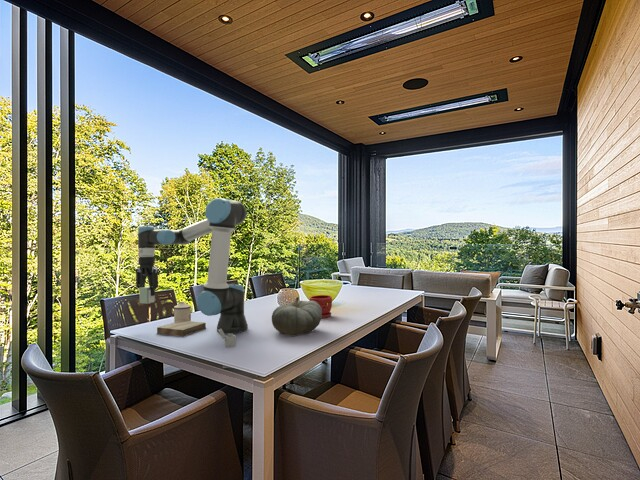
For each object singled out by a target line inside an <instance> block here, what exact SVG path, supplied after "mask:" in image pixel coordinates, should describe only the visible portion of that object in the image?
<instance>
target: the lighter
mask: <svg viewBox="0 0 640 480" xmlns="http://www.w3.org/2000/svg"><path fill="white" fill-rule="evenodd" d="M218 331H219V332H218V333H219V335H220V337H221V338H222V339H223V340H224V346H225V348H226V349H227V348H232V347H236V346H237V345H236V344H237V343H236V341H237V337H236V335H235V333H227V335H226V333H224V332H223V330H222V329H221V328H220V329H219V330H218Z"/></svg>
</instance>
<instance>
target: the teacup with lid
mask: <svg viewBox="0 0 640 480" xmlns="http://www.w3.org/2000/svg"><path fill="white" fill-rule="evenodd" d="M173 310H174V311H173V315H174V316H173V323H174V322H178V321H192V313H191V312H192V311H191V310H192V305H190V304H189V303H186V302H185V301H184V300H183V301H180V303H178V304H177V305H174V307H173Z"/></svg>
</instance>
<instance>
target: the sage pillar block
mask: <svg viewBox="0 0 640 480" xmlns="http://www.w3.org/2000/svg"><path fill="white" fill-rule="evenodd" d="M152 287H153V286H152ZM149 289H150V287H149V285H148V286H146V285H145V287H139V288H138V290H139V291H138V292H139V294H138V295H139V297H138V298H139V304H146V305H148V304H152V303H155V302H156V294H155V295H154V302H151V303H149Z"/></svg>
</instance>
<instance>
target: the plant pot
mask: <svg viewBox="0 0 640 480" xmlns="http://www.w3.org/2000/svg"><path fill="white" fill-rule="evenodd" d="M309 301H316V302H317V303H318V304H319V305H320V307H321V309H322V318H321V319H326V318H329V317H331V315H332V312H331V310H332V306H333V305H332V304H333V297H332V296H331V295H329V294H326V295H325V294H320V295H312V296H310V297H309Z"/></svg>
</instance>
